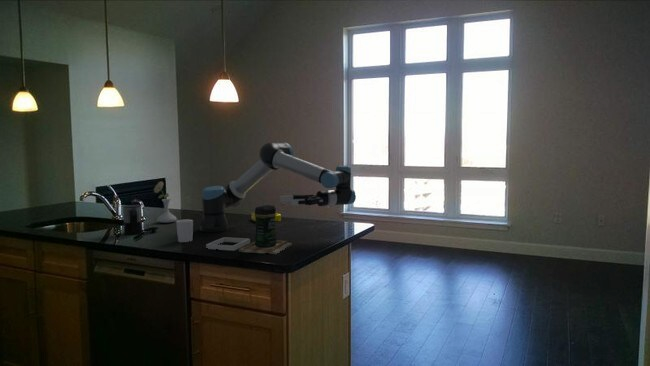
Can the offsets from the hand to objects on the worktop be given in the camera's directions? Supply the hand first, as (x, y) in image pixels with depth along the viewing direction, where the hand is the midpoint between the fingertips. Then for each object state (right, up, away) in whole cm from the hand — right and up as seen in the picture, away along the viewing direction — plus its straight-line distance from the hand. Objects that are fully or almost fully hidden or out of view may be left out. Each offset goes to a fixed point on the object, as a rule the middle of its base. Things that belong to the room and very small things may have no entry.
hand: (285, 200), depth 225 cm
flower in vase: (-77, -15, +59) cm, 98 cm away
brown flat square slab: (-8, -21, -9) cm, 25 cm away
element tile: (-17, -15, +65) cm, 68 cm away
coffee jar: (-8, -20, -10) cm, 24 cm away
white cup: (-50, -20, +8) cm, 54 cm away
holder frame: (-26, -21, -4) cm, 34 cm away
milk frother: (-80, -18, +29) cm, 87 cm away
